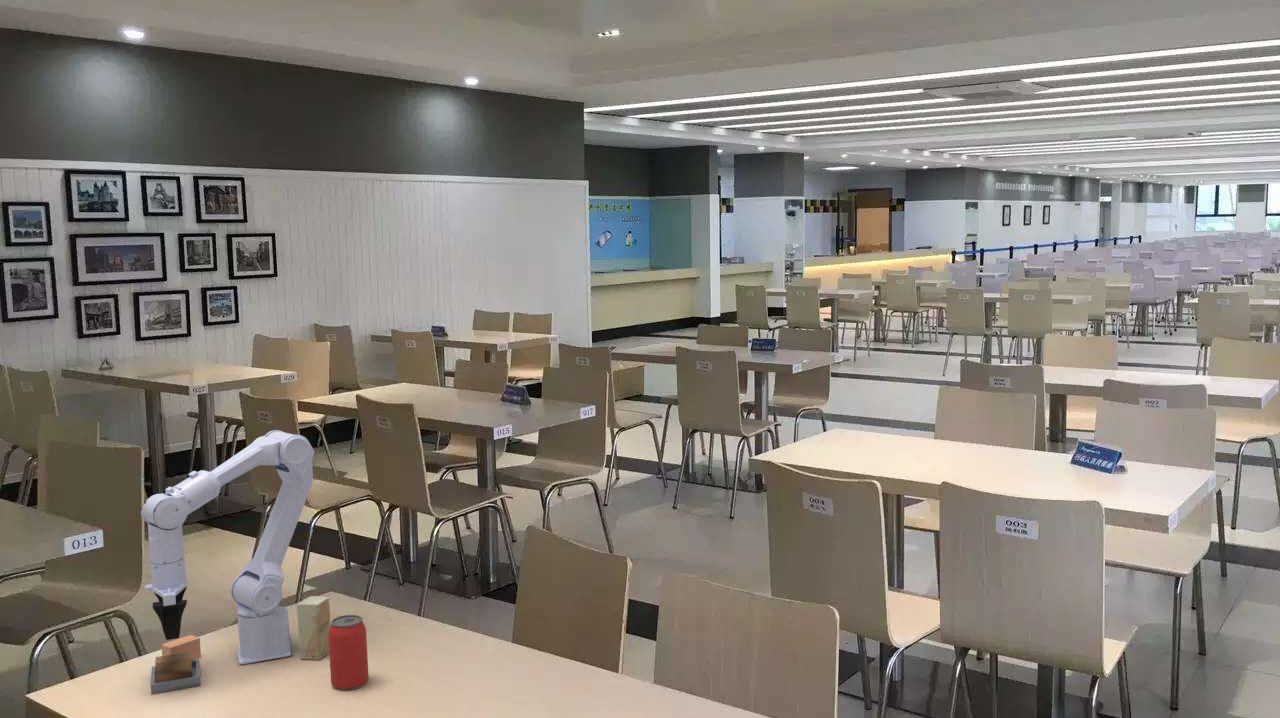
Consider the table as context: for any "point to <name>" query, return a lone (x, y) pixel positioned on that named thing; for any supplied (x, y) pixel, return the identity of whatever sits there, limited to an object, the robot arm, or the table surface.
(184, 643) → the terracotta brick
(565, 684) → the table surface
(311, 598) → the box
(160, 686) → the tray
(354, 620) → the beer can
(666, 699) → the table surface
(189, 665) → the walnut brick
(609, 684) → the table surface
